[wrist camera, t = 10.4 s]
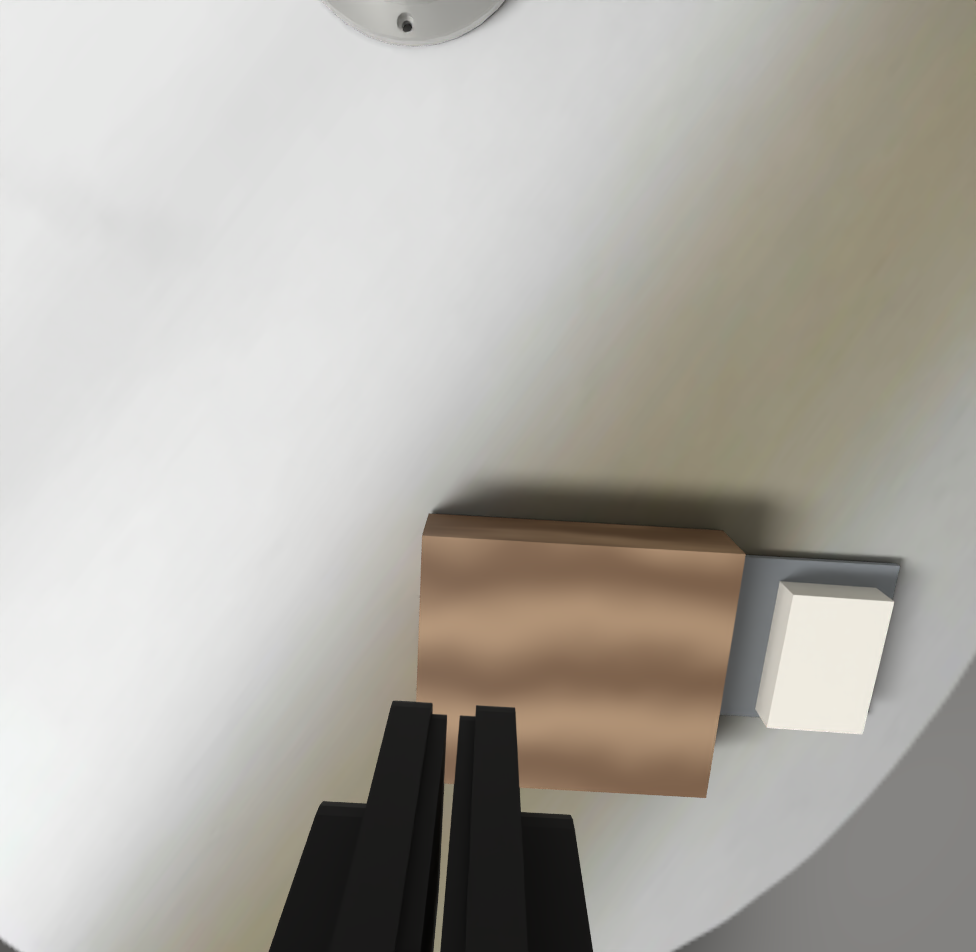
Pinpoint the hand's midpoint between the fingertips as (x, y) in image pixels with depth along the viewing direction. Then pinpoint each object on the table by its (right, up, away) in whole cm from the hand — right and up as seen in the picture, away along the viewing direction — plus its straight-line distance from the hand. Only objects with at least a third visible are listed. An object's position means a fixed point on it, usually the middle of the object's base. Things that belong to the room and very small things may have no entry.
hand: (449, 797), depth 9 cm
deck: (+5, -6, +35) cm, 36 cm away
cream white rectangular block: (+21, -7, +32) cm, 39 cm away
